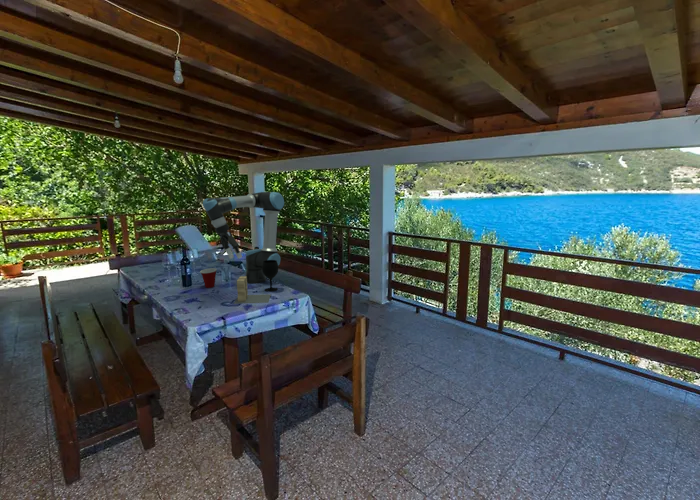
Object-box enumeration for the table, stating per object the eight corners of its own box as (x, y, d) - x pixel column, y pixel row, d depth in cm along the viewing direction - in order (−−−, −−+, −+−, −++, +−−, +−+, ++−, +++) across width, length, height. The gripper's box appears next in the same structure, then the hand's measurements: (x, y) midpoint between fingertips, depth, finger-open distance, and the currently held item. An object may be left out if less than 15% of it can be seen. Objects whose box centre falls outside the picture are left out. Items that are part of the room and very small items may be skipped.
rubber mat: (238, 296, 218) (238, 295, 218) (271, 295, 221) (271, 294, 221) (233, 304, 203) (233, 303, 203) (268, 303, 205) (268, 302, 205)
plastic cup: (199, 286, 239) (197, 269, 237) (215, 283, 245) (214, 267, 243) (203, 290, 231) (202, 272, 228) (219, 287, 237) (218, 270, 235)
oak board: (241, 296, 216) (240, 276, 213) (247, 296, 216) (246, 276, 214) (238, 301, 206) (236, 280, 203) (244, 301, 206) (243, 280, 204)
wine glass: (262, 293, 224) (261, 263, 221) (263, 288, 234) (262, 259, 231) (279, 292, 226) (278, 262, 223) (279, 287, 236) (278, 259, 233)
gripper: (208, 229, 211) (223, 260, 216) (221, 226, 191) (238, 260, 197) (219, 225, 215) (234, 255, 220) (233, 221, 196) (249, 255, 201)
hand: (236, 258), depth 209 cm, fingers open, 13 cm apart
